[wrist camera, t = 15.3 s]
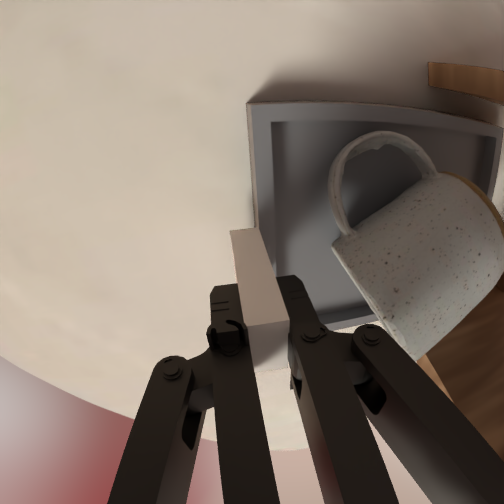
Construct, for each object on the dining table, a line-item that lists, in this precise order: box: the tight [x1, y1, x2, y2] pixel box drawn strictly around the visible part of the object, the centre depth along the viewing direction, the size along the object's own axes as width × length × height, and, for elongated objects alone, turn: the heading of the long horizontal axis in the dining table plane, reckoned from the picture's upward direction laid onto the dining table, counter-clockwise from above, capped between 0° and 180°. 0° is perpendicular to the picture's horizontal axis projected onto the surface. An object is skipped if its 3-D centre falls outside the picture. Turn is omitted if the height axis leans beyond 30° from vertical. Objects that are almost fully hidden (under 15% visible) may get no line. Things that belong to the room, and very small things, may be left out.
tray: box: [246, 101, 504, 331], centre depth 17 cm, size 14×17×2 cm
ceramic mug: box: [327, 131, 504, 361], centre depth 13 cm, size 11×8×8 cm
